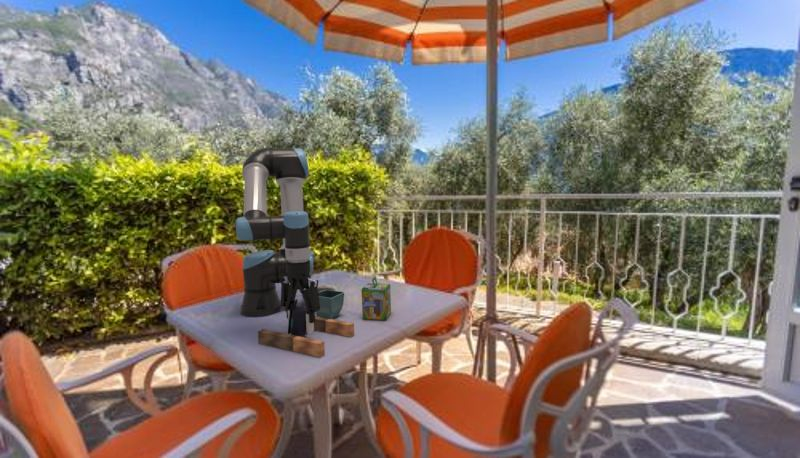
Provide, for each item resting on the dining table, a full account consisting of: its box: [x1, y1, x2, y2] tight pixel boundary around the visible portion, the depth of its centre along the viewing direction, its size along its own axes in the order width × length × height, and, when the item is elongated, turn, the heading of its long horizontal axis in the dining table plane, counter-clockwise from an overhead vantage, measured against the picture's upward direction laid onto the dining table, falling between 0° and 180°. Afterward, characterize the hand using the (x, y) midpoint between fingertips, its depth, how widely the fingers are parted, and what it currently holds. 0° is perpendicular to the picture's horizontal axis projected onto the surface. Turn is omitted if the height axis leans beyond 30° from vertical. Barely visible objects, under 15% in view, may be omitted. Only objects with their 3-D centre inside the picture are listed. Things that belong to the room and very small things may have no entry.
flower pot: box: [315, 289, 345, 320], centre depth 146 cm, size 9×9×9 cm
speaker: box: [287, 299, 308, 337], centre depth 126 cm, size 8×6×10 cm
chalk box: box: [361, 275, 392, 321], centre depth 145 cm, size 9×9×15 cm
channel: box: [257, 316, 355, 358], centre depth 125 cm, size 24×18×4 cm
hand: (301, 330), depth 126 cm, fingers closed on speaker, 7 cm apart
